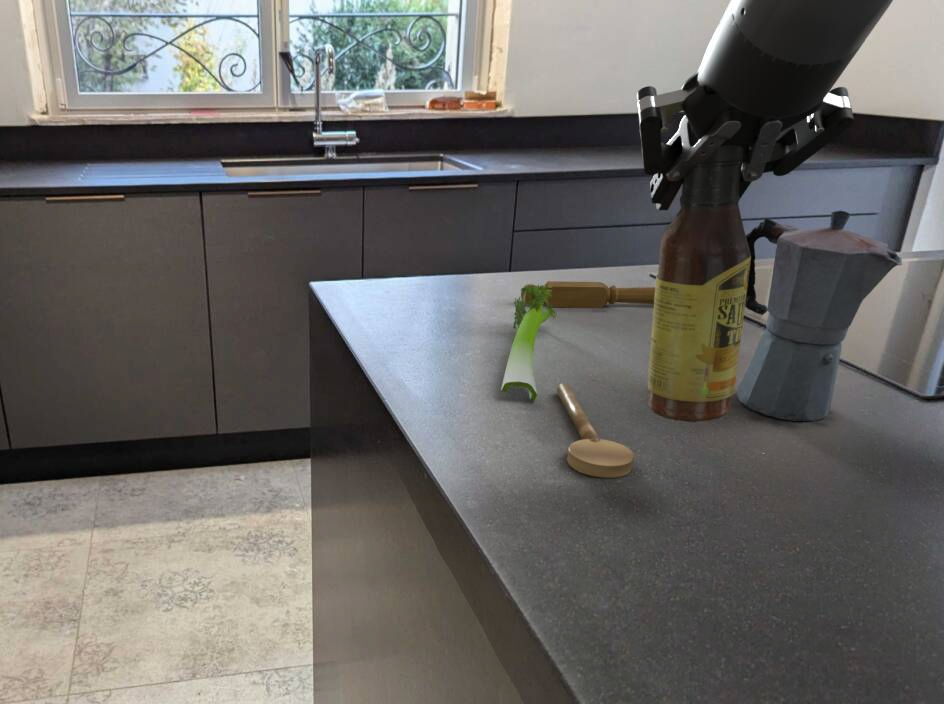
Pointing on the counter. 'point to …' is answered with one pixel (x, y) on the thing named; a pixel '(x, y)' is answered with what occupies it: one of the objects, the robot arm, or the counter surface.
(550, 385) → the counter surface
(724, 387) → the sauce bottle
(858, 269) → the moka pot
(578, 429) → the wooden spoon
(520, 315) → the celery stalk
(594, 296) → the tap handle
